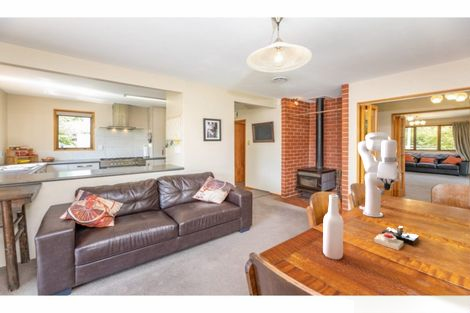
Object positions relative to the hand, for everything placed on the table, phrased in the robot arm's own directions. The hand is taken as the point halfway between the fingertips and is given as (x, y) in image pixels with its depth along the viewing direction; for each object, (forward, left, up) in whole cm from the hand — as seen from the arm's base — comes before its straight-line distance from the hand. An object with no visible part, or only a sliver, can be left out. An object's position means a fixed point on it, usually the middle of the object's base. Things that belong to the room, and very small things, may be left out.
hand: (387, 189), depth 125 cm
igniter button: (+7, -19, -22) cm, 30 cm away
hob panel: (+9, -8, -25) cm, 28 cm away
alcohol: (-6, -53, -25) cm, 59 cm away
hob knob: (+9, -8, -22) cm, 25 cm away
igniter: (+7, -20, -25) cm, 33 cm away
